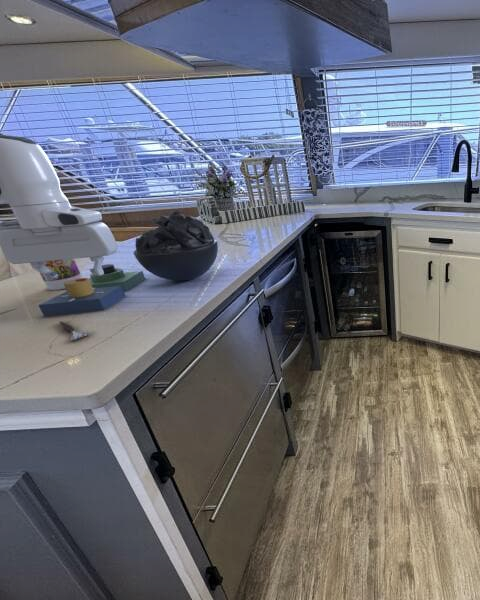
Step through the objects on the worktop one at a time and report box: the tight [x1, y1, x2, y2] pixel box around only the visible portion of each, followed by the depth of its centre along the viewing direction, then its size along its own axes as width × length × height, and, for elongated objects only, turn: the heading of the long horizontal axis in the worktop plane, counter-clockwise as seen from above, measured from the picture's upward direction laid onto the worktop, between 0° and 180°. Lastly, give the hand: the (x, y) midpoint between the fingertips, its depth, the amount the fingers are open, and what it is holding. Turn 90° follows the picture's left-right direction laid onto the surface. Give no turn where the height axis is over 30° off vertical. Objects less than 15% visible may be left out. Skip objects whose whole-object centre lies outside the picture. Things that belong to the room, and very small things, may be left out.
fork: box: [59, 320, 90, 341], centre depth 65 cm, size 3×16×2 cm, turn 57°
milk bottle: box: [39, 259, 83, 291], centre depth 89 cm, size 8×8×20 cm
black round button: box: [102, 263, 116, 274], centre depth 88 cm, size 4×4×2 cm
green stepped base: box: [88, 267, 146, 292], centre depth 89 cm, size 12×10×4 cm
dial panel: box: [38, 286, 126, 318], centre depth 77 cm, size 12×9×3 cm
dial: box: [63, 277, 94, 298], centre depth 76 cm, size 4×4×4 cm
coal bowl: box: [133, 210, 219, 282], centre depth 91 cm, size 20×20×19 cm
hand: (76, 277), depth 75 cm, fingers open, 8 cm apart
